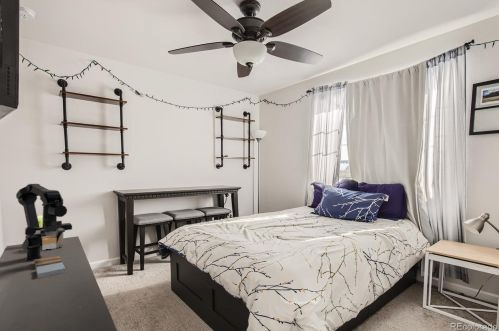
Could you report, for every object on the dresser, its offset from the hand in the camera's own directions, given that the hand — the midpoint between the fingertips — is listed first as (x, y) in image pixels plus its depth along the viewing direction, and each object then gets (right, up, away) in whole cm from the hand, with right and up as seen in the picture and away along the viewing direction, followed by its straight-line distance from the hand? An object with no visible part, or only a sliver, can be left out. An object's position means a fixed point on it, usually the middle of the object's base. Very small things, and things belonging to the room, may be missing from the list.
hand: (48, 245), depth 129 cm
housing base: (0, -1, 0) cm, 1 cm away
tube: (-29, -10, +29) cm, 42 cm away
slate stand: (+9, -10, -10) cm, 16 cm away
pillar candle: (-18, -10, +26) cm, 33 cm away
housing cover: (0, +1, 0) cm, 2 cm away
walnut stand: (0, -10, 0) cm, 10 cm away
